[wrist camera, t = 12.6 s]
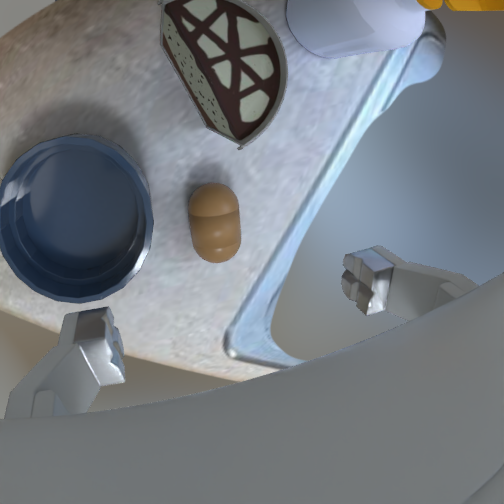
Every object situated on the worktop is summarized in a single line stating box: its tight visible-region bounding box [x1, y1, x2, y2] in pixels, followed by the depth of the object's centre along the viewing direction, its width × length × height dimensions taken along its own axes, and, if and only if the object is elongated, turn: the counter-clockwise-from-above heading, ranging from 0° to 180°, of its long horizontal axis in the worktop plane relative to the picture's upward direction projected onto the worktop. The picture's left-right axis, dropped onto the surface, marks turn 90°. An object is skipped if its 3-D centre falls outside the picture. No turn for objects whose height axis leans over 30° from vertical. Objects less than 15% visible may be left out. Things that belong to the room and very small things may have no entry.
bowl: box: [0, 133, 154, 304], centre depth 24 cm, size 14×14×5 cm
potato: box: [188, 183, 241, 263], centre depth 29 cm, size 8×5×5 cm, turn 3°
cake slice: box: [158, 0, 288, 150], centre depth 21 cm, size 12×6×10 cm, turn 26°
